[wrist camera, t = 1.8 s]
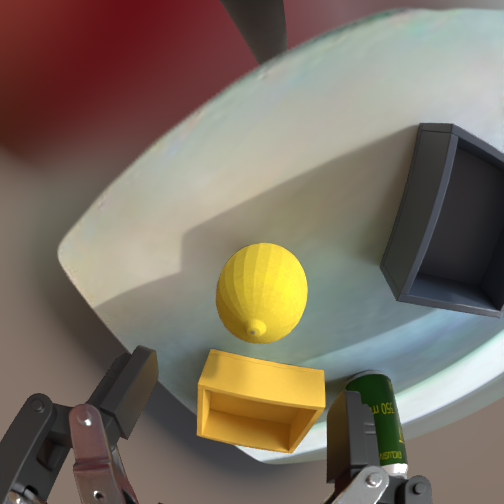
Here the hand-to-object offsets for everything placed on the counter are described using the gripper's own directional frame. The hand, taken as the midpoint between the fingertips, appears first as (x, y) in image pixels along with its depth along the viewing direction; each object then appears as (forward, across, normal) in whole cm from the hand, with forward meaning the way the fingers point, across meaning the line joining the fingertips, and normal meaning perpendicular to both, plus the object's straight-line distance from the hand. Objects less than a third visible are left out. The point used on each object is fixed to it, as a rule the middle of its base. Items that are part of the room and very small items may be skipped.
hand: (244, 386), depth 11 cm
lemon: (+12, 0, 0) cm, 12 cm away
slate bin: (+11, -14, -7) cm, 19 cm away
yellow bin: (+12, -2, +16) cm, 20 cm away
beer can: (+12, -13, +12) cm, 21 cm away
